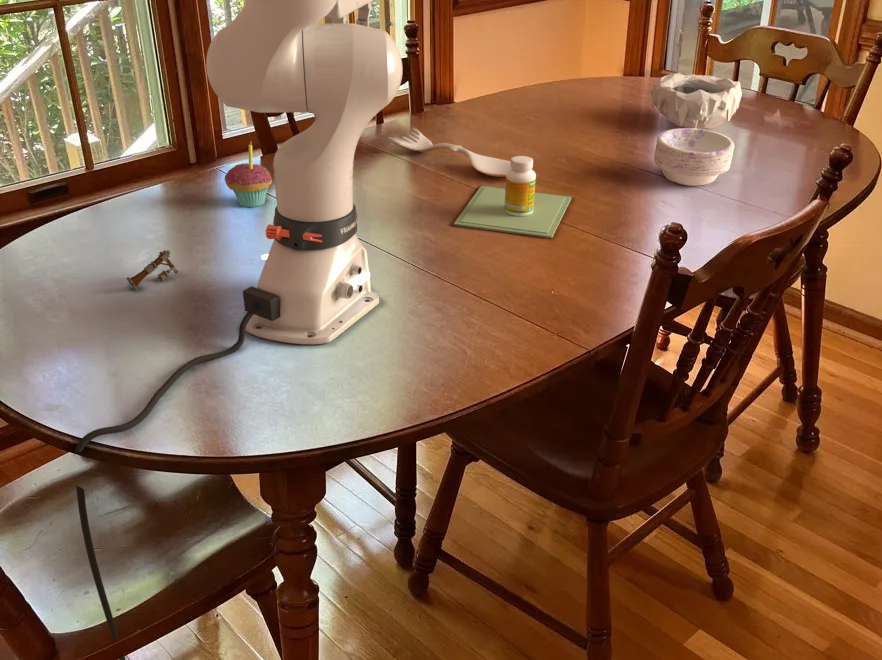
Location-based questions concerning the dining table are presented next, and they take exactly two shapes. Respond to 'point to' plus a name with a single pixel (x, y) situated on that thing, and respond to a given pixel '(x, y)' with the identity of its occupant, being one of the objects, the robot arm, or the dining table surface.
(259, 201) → the cupcake
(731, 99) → the bowl
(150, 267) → the wooden post with brackets
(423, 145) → the white spork utensil
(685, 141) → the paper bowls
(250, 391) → the dining table surface
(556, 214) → the placemat
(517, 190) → the supplement bottle
